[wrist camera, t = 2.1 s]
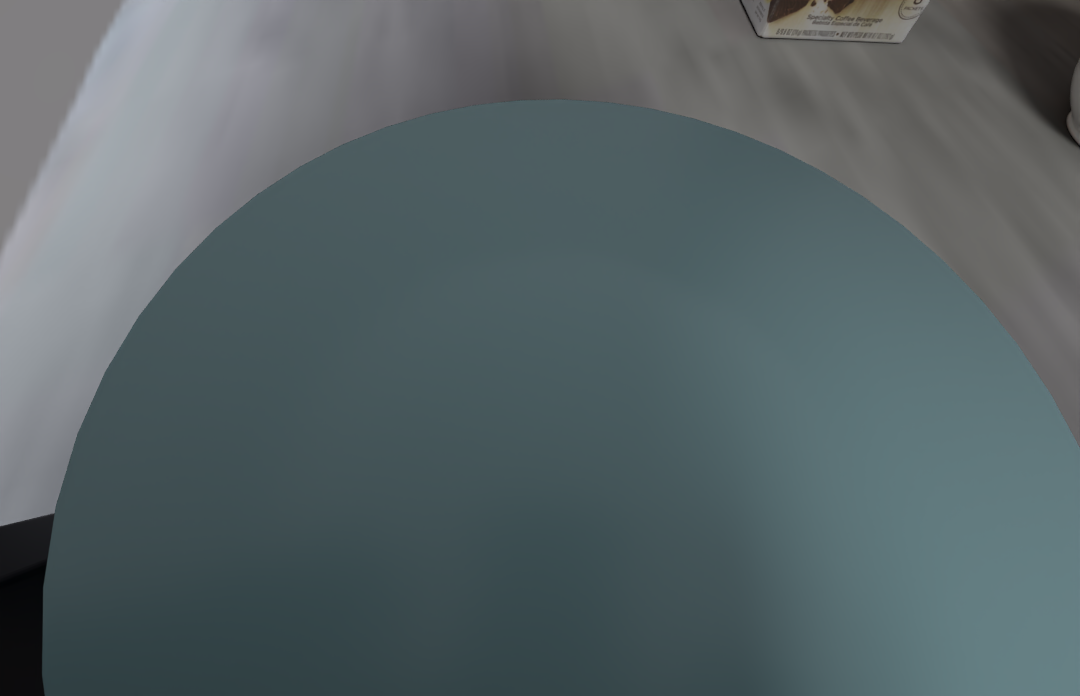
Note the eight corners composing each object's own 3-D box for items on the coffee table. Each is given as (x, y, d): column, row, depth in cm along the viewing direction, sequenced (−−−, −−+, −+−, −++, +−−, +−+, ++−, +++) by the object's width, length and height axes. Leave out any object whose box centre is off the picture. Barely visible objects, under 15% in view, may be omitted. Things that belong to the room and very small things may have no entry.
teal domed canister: (683, 710, 14) (1472, 943, 3) (403, 786, 13) (-263, 1783, 2) (610, 449, 17) (825, 77, 6) (383, 490, 16) (135, 119, 5)
